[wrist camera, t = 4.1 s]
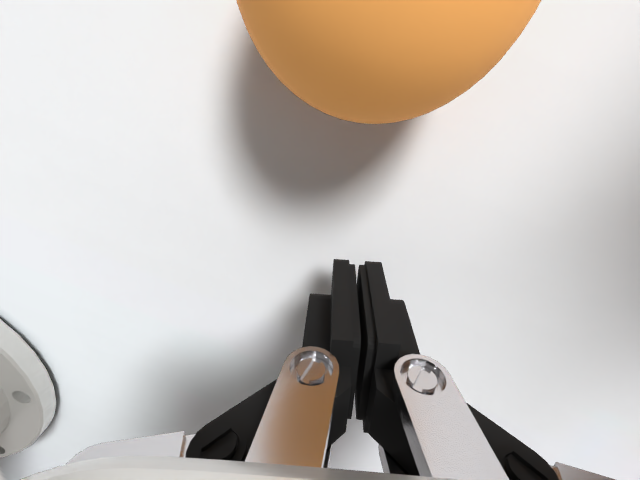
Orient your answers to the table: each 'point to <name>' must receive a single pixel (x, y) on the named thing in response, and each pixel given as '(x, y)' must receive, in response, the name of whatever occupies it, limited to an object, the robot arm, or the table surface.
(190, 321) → the table surface
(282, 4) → the ball
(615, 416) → the table surface
